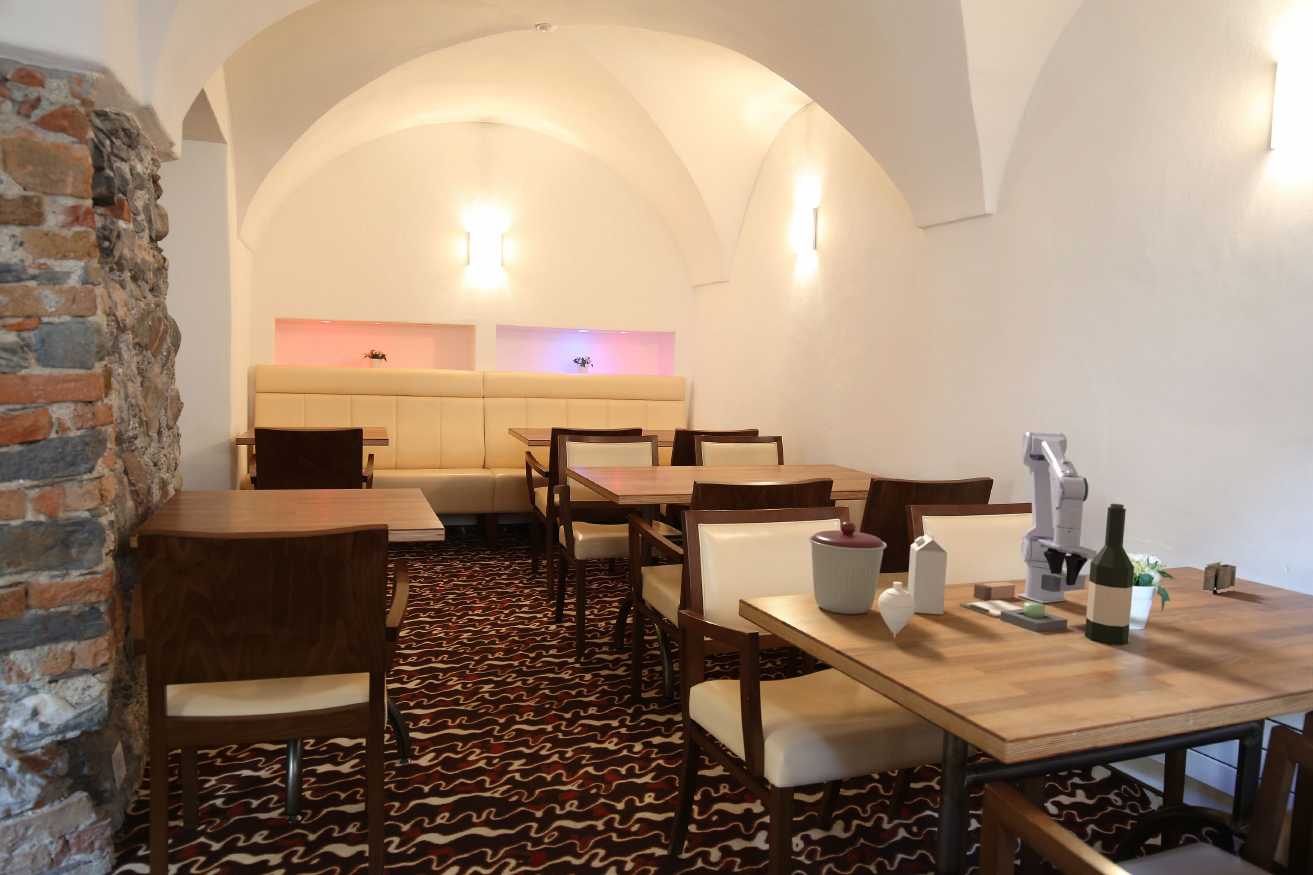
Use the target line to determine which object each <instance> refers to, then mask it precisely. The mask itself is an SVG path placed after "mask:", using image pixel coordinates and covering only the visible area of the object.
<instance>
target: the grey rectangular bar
mask: <svg viewBox="0 0 1313 875" xmlns="http://www.w3.org/2000/svg"><path fill="white" fill-rule="evenodd" d="M1066 576H1067V572H1064V573H1056V574H1045V575H1042V581H1041V589H1043V590H1047V591H1050V592H1061V591H1064V592H1068V591H1078V590H1079V591H1080V590H1085V589H1086V576H1087V575H1086V574H1083V573H1079V575H1078V577H1077V580H1076V582H1075V585H1067V582H1066Z"/></svg>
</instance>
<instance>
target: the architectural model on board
mask: <svg viewBox="0 0 1313 875" xmlns="http://www.w3.org/2000/svg"><path fill="white" fill-rule="evenodd" d="M1222 562H1223V561H1219V562H1218V561H1217V562H1213V563H1208V564H1206V566H1204V576H1203V583H1202V584H1203V586H1202V587H1203V588H1202V591H1203V590H1209V591H1214V588H1215V587H1216V590H1220V589H1225V588H1229V587H1230V586H1234V587H1235V586H1236V585H1235V584H1236V574H1237V572H1236V571H1237V565H1232V564H1226V563H1225V564H1222ZM1214 592H1215V591H1214Z"/></svg>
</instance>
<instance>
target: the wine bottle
mask: <svg viewBox="0 0 1313 875" xmlns="http://www.w3.org/2000/svg"><path fill="white" fill-rule="evenodd" d="M1124 506H1125V505H1124V504H1123V503H1122V504H1120V503H1110V506H1107V514H1106V516H1107V517H1106V526H1105V528H1106V529H1105V539H1104V540H1105V541H1104V546H1103V547H1102V548H1101V549H1100V550H1099V551H1098V552H1097V554H1096V556H1095V558H1094V559H1091V561H1090V565H1089V567H1090V569H1089V579H1088V590H1087V591H1088V592H1087V593H1088V594H1087V604H1086V615H1085V616H1086V618H1085V631H1084V637H1085V638H1087V639H1088V640H1090V641H1091V642H1096V643H1098V644H1099V643H1100V644H1104V645H1109V646H1110V645H1111V646H1124V645H1126V644H1128V643H1129V634H1130V633H1129V632H1130V623H1131V621H1130V620H1131V610H1132V598H1133V587H1134V575H1135V565H1134V564H1133V563H1132V561H1131V559H1130V558H1129V556H1128V554H1127V551H1126V550H1125V548H1124V535H1125V525H1126V524H1125V523H1126V511H1127V509H1126V508H1125V507H1124Z"/></svg>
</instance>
